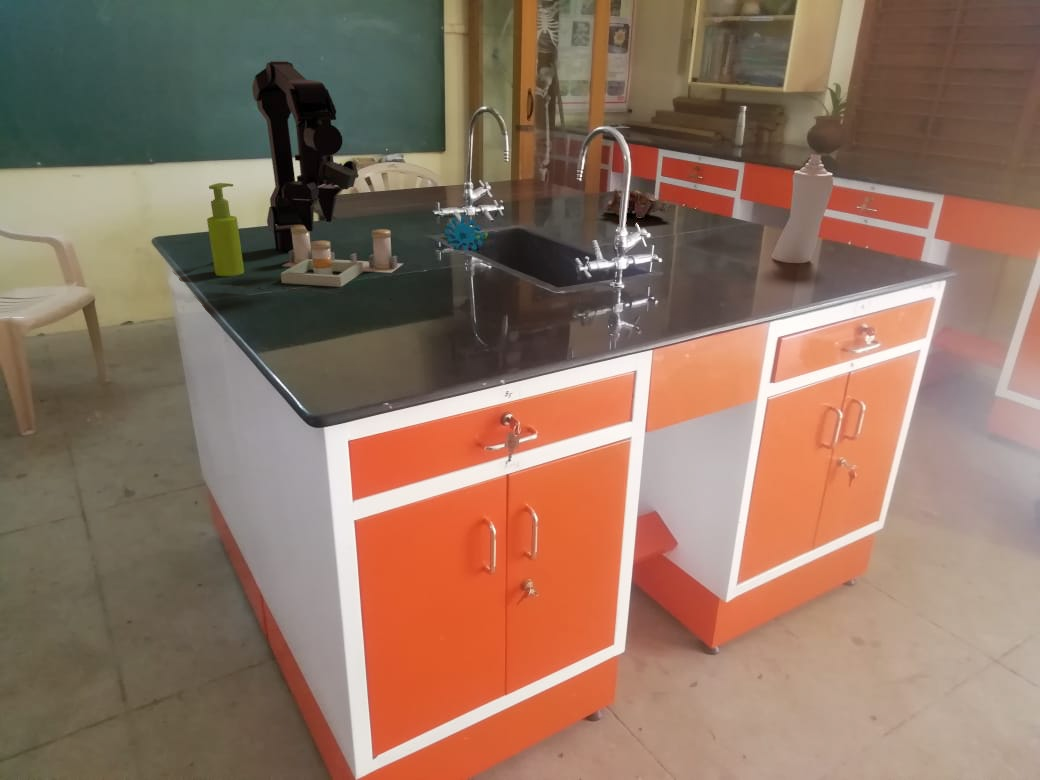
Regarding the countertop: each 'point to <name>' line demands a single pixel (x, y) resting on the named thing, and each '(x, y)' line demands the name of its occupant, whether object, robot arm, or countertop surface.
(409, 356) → the countertop surface
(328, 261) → the fuse marked
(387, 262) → the fuse right
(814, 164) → the curved beige bottle
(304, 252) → the fuse left
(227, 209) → the soap dispenser
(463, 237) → the gear
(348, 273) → the tray
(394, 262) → the fuse holder
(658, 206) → the mineral formation
